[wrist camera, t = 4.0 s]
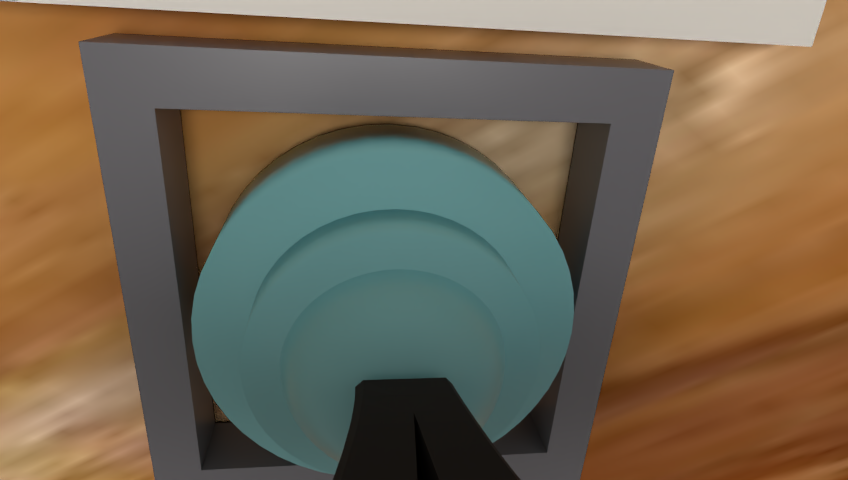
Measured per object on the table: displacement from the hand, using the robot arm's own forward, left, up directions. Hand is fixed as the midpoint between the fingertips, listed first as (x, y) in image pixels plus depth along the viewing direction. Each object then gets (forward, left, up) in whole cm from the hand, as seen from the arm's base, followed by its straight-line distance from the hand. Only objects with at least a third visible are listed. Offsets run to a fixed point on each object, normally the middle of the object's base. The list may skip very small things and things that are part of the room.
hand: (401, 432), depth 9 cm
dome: (0, 0, -5) cm, 5 cm away
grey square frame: (0, 0, -5) cm, 5 cm away
